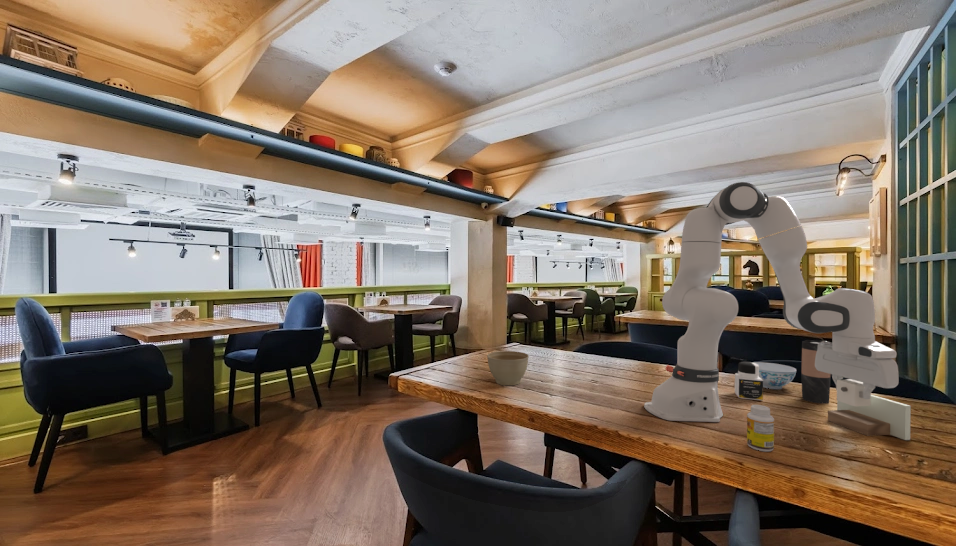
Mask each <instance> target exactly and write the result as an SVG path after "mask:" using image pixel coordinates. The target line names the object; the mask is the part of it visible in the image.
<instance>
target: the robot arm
mask: <svg viewBox="0 0 956 546" xmlns="http://www.w3.org/2000/svg"><path fill="white" fill-rule="evenodd" d="M741 221H744V222H746V223H748V224H749V225H750V226H751V227H752V229H753V230H754V232H755V235H756V238H757V240H758V242H759V245H760V247H761V249H762V251H763V253H764V255H765V256H766V258H767V260H768V261H769V263H770V264H769V265H771V267H772V269H773V271H774V275H775V277H776V279H777V280H776V281H777V282H778V285H779V288H780V292H781V294H782V297H783V308H782V316H783V318H784V320H785V322H786V323H787V324H788V325H790V326H791V327H793V328H795V329H797V330H803V331H805V332H809V333H813V334H826V333H827V334H828V333H832V336H831V337H832V338H831V339H832V342H830V341H827V340H821V341H822V342H820V343H819V344H818V348H817V352H816V357H815V368H816V369H817V370H818V371H821V372H825V373H829V374H830V375H831V377H832V381H833V382H834V384H835V389H836V391H837V380H844V379H852V380H856V381H859V382H863V386H864V387H865V389H864V390H863V391H859V394H860V395H859V397H860V398H863V399H870V393H871V394H872V392H873V391H874V390H875V389H876V387H877V388H878V387H879V388H883V389H894V388H897V386H898V385H899V383H900V382H899V365H898V364H897V361H895V358H897V355H898V354H897V351H896V350H895V349H893V348H890V347H889V346H886V345H884V344H882V343H880V342H878V341H876V336H875V333H874V325H875V323H876V310H875V302H874V298H873V296H872V295H871V294H870V293H869V292H867V291H864V290H859V289H852V288H845V287H844V288H843V287H839V288H836V289H835V290H834V291H832V292H830V293H827V294H823V295H822V296H819V297H816V298H814V297H813V296H812V295H811V294H810V293H809V291H808V288H807V285H806V283H805V280H804V277H803V274H802V271H801V267H800V266H801V262H802V258H803V256H805V254H806V252H807V249H808V241H807V236H806V234H805V231H804V228H803V225H802V223H801V221H800V219H799V217H798V216H797V213H796V212H795V210H794V209H793V207H792V206H791V205H790V203H789V201H788V200H787V199H786V198H784V197H782V196H778V195H773V196H768V194H766V193H765V192H763V191H762V190H760V188H759V187H757V186H756V185H754V184H752V183H750V182H746V181H739V182H735V183H732V184H730V185H728V186H726V187H725V188H722V189H721V190H720V191H718V192H717V193H716V195H714V197H712V199H711V200H710V201H709V202H708V204H707V205H706V207H697V208H694V209H692V210H690V211H689V212H688V213H687V214H686V216H685V220H684V224H683V227H682V232H681V233H682V234H681V243H680V244H681V247H680V258H679V260H680V261H679V266H678V267H679V268H678V271H677V273H676V277H675V279H674V281H673V283H672V285H671V287H670V288H669V289H667V290H666V291H665V293H664V294H663V296H662V299H661V300H662V302H661V304H662V308H663V310H664V311H665V312H666V313H667V314H668V315H669V316H671V317H673V318H676V319H678V320H683V321H688V326H687V330H686V332H685V334H684V335H683V334H682V336H680V337H679V338H678V340H677V346H676V347H677V353H676V354H677V357H676V358H677V359H676V360H677V363H676V364H675V366H672V365H669V364H666V366H665V367H664V369H665V371H666V372H669V373H671V376H670V377H669V378H668V379H666V380H665V381H663V382H662V383H661V384H659V385H658V386H656V387H655V388H654V389H653V392H652V397H651V401H647V402H644V405H643V406H644V408H645V410H646V411H647V412H648V413H650V414H652V415H654V416H656V417H657V418H660V419H663V420H667V421H674V422H675V421H677V422H678V421H679V422H703V423H704V422H709V423H720V421H721V418H722V417H723V415H724V414H723V410H722V407H721V401H720V396H719V386H718V384H719V380H720V378H719V377H720V376H719V375H720V373H719V371H720V370H719V368H718V353H719V352H718V350H719V343H720V339H721V336H722V333H723V332H724V330H725V328H726V327H727V326H728V325H729V324H730V323H732V322H733V321H735V319H736V317H737V316H738V313H739V302H738V300H737V298H736V297H735V296H734V295H733V294H732V293H730V292H727V291H725V290H722V289H719V288H715V287H713V288H712V287H708V284H709V282H710V279H711V278H712V276H713V275H714V274H716V273H717V272H718V271H719V270H720V267H721V256H722V241H723V240H722V237H723V236H722V234H723V230H724V227H725V226H727V225H731V224H735V223H738V222H741ZM821 343H822V344H821Z"/></svg>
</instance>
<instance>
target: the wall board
mask: <svg viewBox="0 0 956 546" xmlns="http://www.w3.org/2000/svg"><path fill="white" fill-rule="evenodd" d="M836 405H837V406H836V410H851V411H854V412H857V413H860V414H863V415H866V416H869V417H872V418H875V419H878V420H881V421H884V422H887V423H890V435H889V436H892V437H896V438H898V439H900V440H904V441H911V417H912V416H911V414H912V413H911V408H912V406H911V405H909V404H906V403H902V402H899V401H895V400H891V399H888V398H884V397H881V396H879V395H878V396H877V395H874V394H871V406H852V405H849V404H846V403H843V402H840V401H837V400H836Z"/></svg>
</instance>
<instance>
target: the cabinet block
mask: <svg viewBox="0 0 956 546" xmlns="http://www.w3.org/2000/svg"><path fill="white" fill-rule="evenodd" d="M864 389H865V387H864V386H863V382H859V381H856V380H852V379H848V378H843V379H841V380H837V390H836V402H837V401H840V402H843V403H846V404H849V405H852V406H871V395H872V392H871V393H870V399H863V398H860V397H859V395H860V394H859V391H863V390H864Z"/></svg>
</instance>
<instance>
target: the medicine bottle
mask: <svg viewBox="0 0 956 546" xmlns="http://www.w3.org/2000/svg"><path fill="white" fill-rule="evenodd" d="M737 369H738V370H737V372H736V373H734V394H735V395H736V396H737V397H738V399H744V400H754V401H763V400H764V387H763V380H762V379H761V378H760V377H759V365H758V364H756V363H753V362H751V361H739V362H738V368H737Z"/></svg>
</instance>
